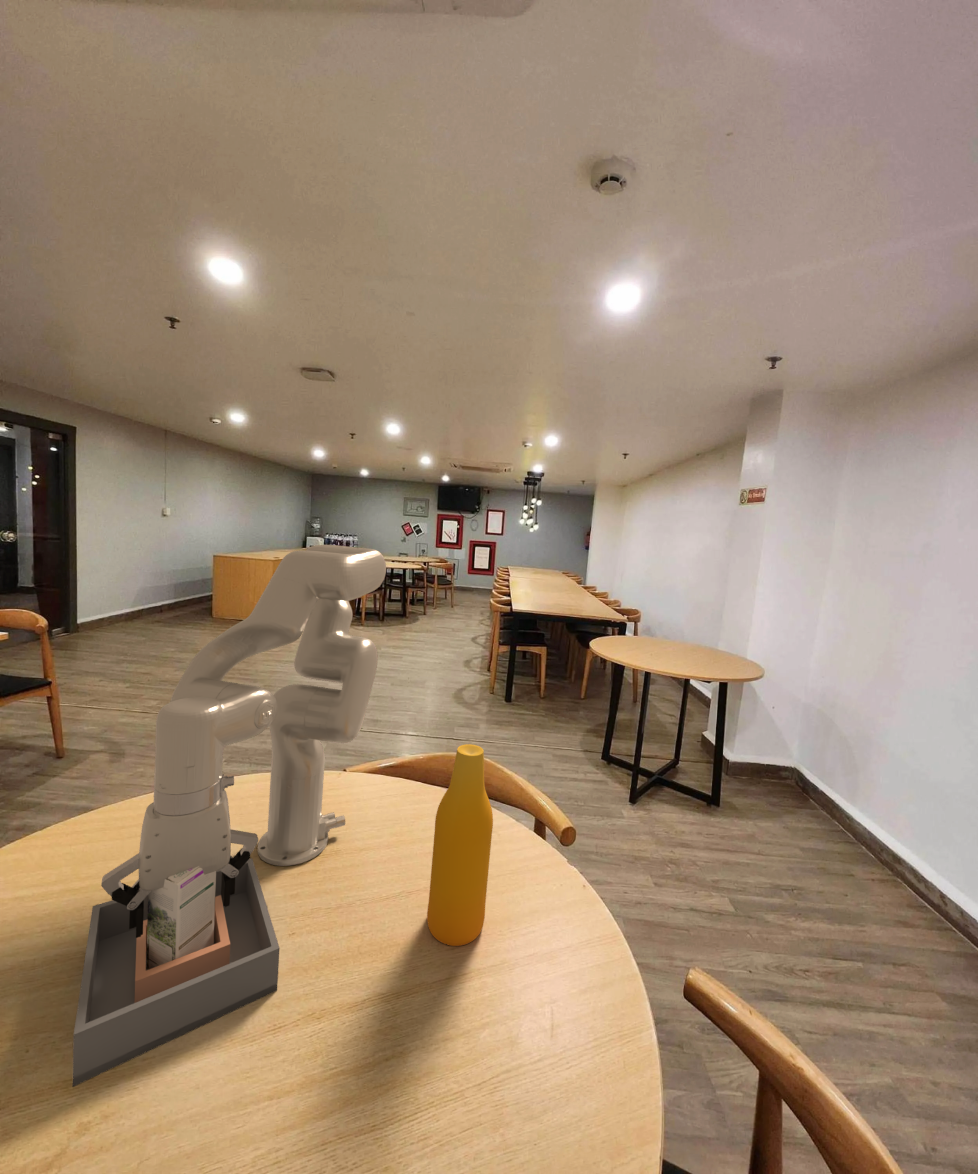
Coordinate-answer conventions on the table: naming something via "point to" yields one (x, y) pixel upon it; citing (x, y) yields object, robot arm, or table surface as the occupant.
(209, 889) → the syrup box
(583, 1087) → the table surface
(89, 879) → the table surface
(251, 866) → the walled box
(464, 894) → the beer bottle
